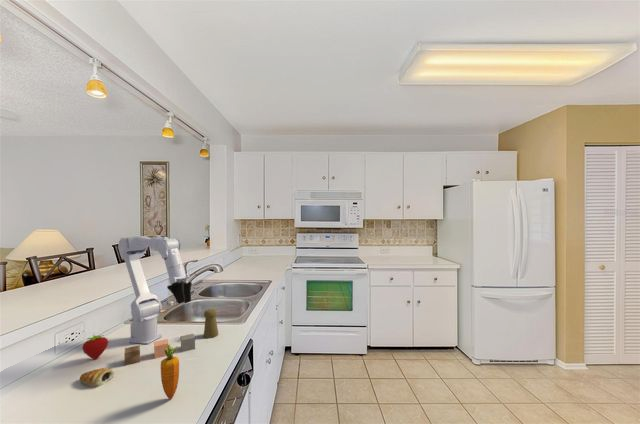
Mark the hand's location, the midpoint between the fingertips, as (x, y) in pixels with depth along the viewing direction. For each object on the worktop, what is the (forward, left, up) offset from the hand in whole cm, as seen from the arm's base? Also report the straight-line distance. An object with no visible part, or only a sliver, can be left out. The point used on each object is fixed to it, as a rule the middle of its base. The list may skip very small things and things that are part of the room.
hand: (185, 302), depth 111 cm
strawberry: (-29, -11, -19) cm, 37 cm away
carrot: (+15, -25, -19) cm, 35 cm away
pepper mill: (0, +16, -19) cm, 25 cm away
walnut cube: (-15, -9, -19) cm, 26 cm away
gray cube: (-2, +4, -19) cm, 19 cm away
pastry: (-15, -22, -19) cm, 33 cm away
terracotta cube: (-8, -3, -19) cm, 21 cm away
